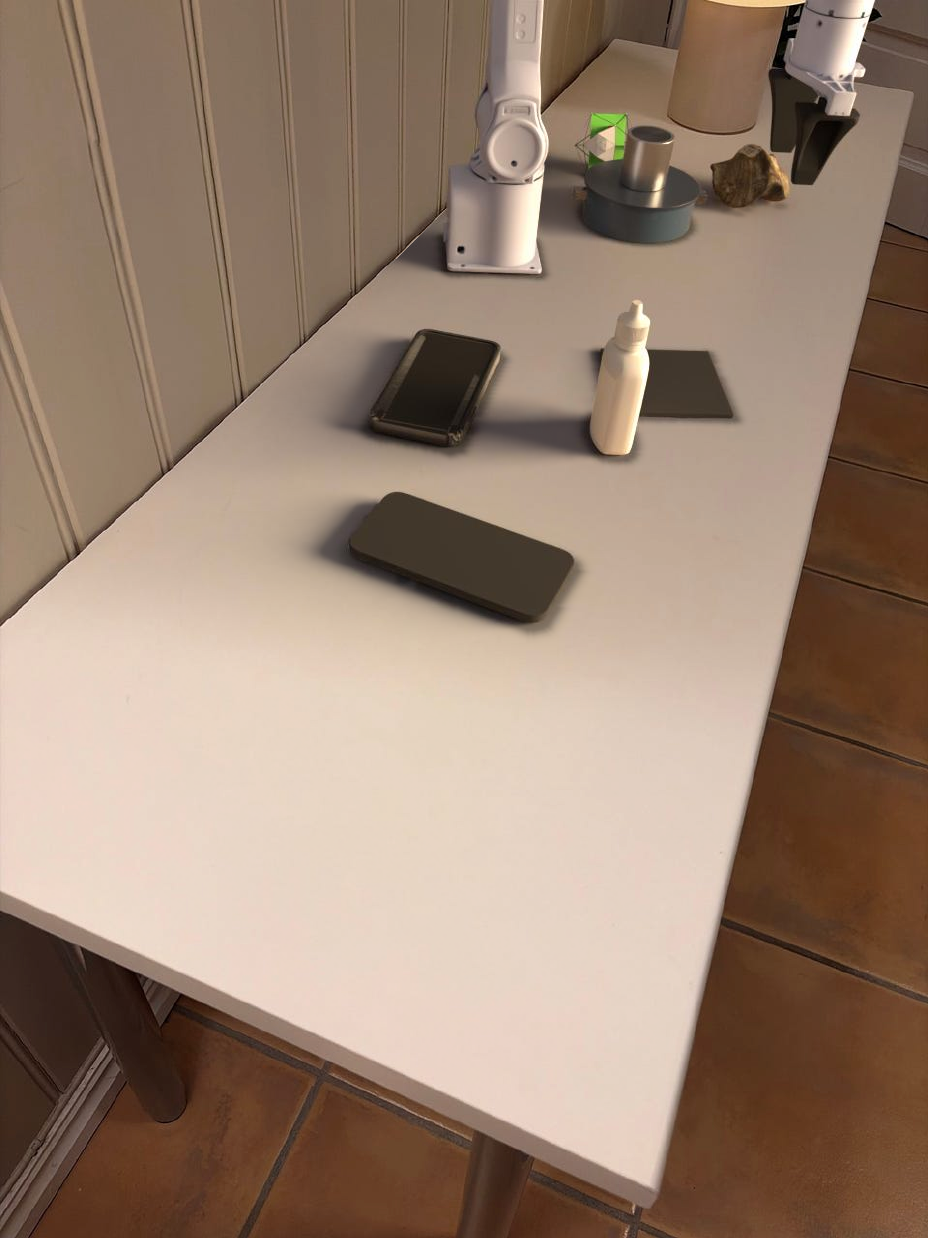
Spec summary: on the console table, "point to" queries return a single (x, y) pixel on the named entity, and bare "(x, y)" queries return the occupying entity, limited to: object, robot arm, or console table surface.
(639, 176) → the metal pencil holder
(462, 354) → the phone
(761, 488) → the console table surface
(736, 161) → the fossilized seashell
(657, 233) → the grey cooking pot
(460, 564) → the phone
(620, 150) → the geometric puzzle
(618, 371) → the eye dropper bottle
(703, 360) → the mat
